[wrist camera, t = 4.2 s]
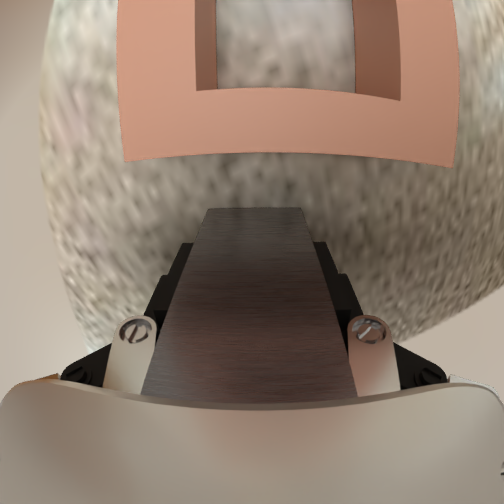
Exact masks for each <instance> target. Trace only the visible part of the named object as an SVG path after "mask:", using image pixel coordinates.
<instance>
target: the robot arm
mask: <svg viewBox="0 0 504 504" xmlns="http://www.w3.org/2000/svg"><path fill="white" fill-rule="evenodd" d="M193 244H194V243H183V244H182V245H181V248H180V250H179V252H178V254H177V256H176V258H175V260H174V263H173V265H172V267H171V269H170V271H169V273H168V275H162V276H161V278H160V280H159V282H158V284H157V287H156V289H155V291H154V293H153V295H152V297H151V300H150V302H149V304H148V306H147V308H146V311H145V313H144V315H143V316H139V315H138V316H132V317H130V318H127V319H125V320H124V321H122V322H121V323H120V324H119V325H118V326H117V328H116V330H115V333H114V337H113V342H112V343H111V344H109V345H107V346H105V347H103V348H101V349H99V350H97V351H95V352H93V353H91V354H89V355H87V356H86V357H84V358H82V359H80V360H78V361H76V362H74V363H72V364H71V365H69V366H68V367H66V369H65V370H64V371H63V373H62V375H61V376H60V375H59V374H58V373H56V374H53V375H49V376H46V377H43V378H39V379H36V380H30V381H25V382H22V383H19V384H17V385H15V386H14V387H13V388H12V389H11V390H10V391H9V392H8V393H7V394H6V395H5V397H4V398H3V400H2V402H1V403H0V504H504V405H503V403H502V402H501V400H500V399H499V395H498V393H497V391H496V390H495V389H494V388H493V387H491V386H489V385H485V384H482V383H478V382H474V381H471V380H467V379H464V378H461V377H457V376H454V375H450V376H449V377H446V374H445V372H444V371H443V370H442V369H441V368H440V367H439V366H437V365H436V364H434V363H432V362H430V361H428V360H426V359H424V358H422V357H420V356H419V355H417V354H414V353H413V352H411V351H409V350H407V349H405V348H403V347H401V346H399V345H398V344H396V343H394V342H393V341H392V336H391V331H390V329H389V326H388V325H387V324H386V323H385V322H384V321H383V320H381V319H380V318H377V317H375V316H370V315H363V312H362V310H361V307H360V305H359V302H358V300H357V297H356V295H355V293H354V290H353V288H352V286H351V283H350V281H349V279H348V276H347V275H346V274H338V271H337V269H336V266H335V264H334V262H333V259H332V257H331V254H330V252H329V249H328V247H327V245H326V243H325V242H313V245H314V248H315V251H316V254H317V256H318V259H319V262H320V265H321V268H322V272H323V275H324V278H325V281H326V284H327V287H328V290H329V293H330V297H331V300H332V303H333V306H334V310H335V313H336V316H337V320H338V323H339V327H340V330H341V334H342V337H343V341H344V344H345V348H346V352H347V355H348V359H349V363H350V366H351V370H352V374H353V378H354V382H355V386H356V390H357V394H358V397H354V398H346V399H337V400H327V401H315V402H299V403H271V404H244V403H216V402H201V401H189V400H178V399H169V398H161V397H153V396H146V395H140V393H141V389H142V386H143V383H144V380H145V377H146V373H147V370H148V367H149V364H150V361H151V358H152V355H153V352H154V349H155V346H156V343H157V340H158V337H159V334H160V332H161V329H162V326H163V323H164V320H165V317H166V315H167V312H168V309H169V306H170V304H171V301H172V298H173V296H174V293H175V290H176V288H177V285H178V282H179V280H180V277H181V275H182V272H183V269H184V267H185V264H186V262H187V259H188V257H189V254H190V252H191V249H192V247H193Z"/></svg>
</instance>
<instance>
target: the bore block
mask: <svg viewBox="0 0 504 504" xmlns="http://www.w3.org/2000/svg"><path fill="white" fill-rule="evenodd" d="M352 6H353V19H354V36H355V68H356V92H355V93H348V92H339V91H329V90H317V89H302V88H231V89H217V60H216V0H118V13H117V85H118V102H119V115H120V125H121V135H122V144H123V152H124V160H125V162H129V161H136V160H145V159H154V158H163V157H174V156H186V155H200V154H218V153H246V152H294V153H323V154H340V155H354V156H366V157H377V158H386V159H395V160H403V161H410V162H417V163H424V164H430V165H436V166H442V167H448V168H453V164H454V156H455V149H456V140H457V129H458V116H459V53H458V40H457V30H456V22H455V15H454V9H453V3H452V0H352Z"/></svg>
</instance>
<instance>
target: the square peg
mask: <svg viewBox="0 0 504 504" xmlns="http://www.w3.org/2000/svg"><path fill="white" fill-rule="evenodd" d="M140 395H146V396H153V397H161V398H169V399H178V400H189V401H201V402H216V403H244V404H271V403H299V402H315V401H327V400H337V399H346V398H354V397H358V394H357V390H356V386H355V382H354V378H353V374H352V370H351V366H350V363H349V359H348V355H347V352H346V348H345V344H344V341H343V337H342V334H341V330H340V327H339V323H338V320H337V316H336V313H335V310H334V306H333V303H332V300H331V297H330V293H329V290H328V287H327V284H326V281H325V278H324V275H323V272H322V268H321V265H320V262H319V259H318V256H317V254H316V251H315V248H314V245H313V242H312V239H311V236H310V233H309V230H308V228H307V225H306V222H305V219H304V216H303V214H302V211H301V208H223V209H208V211H207V213H206V216H205V218H204V220H203V223H202V225H201V227H200V230H199V232H198V235H197V237H196V239H195V242H194V244H193V247H192V249H191V252H190V254H189V257H188V259H187V262H186V264H185V267H184V269H183V272H182V275H181V277H180V280H179V282H178V285H177V288H176V290H175V293H174V296H173V298H172V301H171V304H170V306H169V309H168V312H167V315H166V317H165V320H164V323H163V326H162V329H161V332H160V334H159V337H158V340H157V343H156V346H155V349H154V352H153V355H152V358H151V361H150V364H149V367H148V370H147V373H146V377H145V380H144V383H143V386H142V389H141V393H140Z"/></svg>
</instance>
